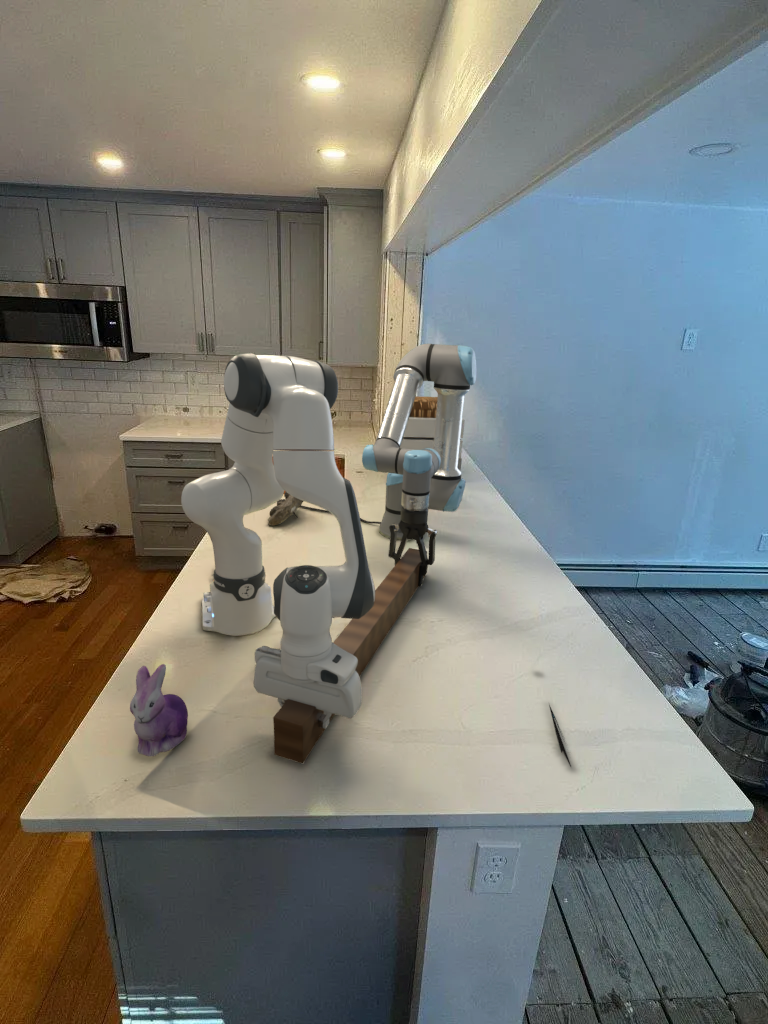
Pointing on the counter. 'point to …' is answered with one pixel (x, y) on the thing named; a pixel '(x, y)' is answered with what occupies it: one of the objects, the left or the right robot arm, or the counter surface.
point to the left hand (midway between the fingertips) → (306, 720)
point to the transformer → (424, 426)
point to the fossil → (284, 509)
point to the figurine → (157, 714)
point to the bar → (359, 639)
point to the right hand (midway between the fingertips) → (409, 582)
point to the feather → (559, 735)
